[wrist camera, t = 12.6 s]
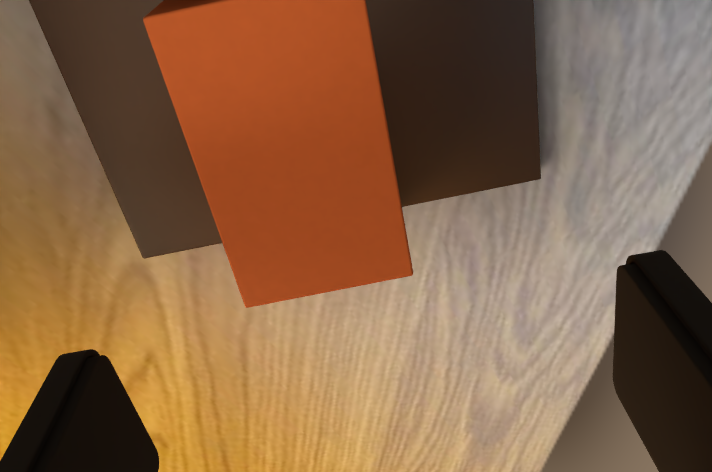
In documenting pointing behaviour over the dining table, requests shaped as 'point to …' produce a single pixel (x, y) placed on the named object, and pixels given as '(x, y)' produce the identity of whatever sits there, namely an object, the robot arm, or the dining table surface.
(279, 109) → the orange block
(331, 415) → the dining table surface
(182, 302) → the dining table surface
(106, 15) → the board
